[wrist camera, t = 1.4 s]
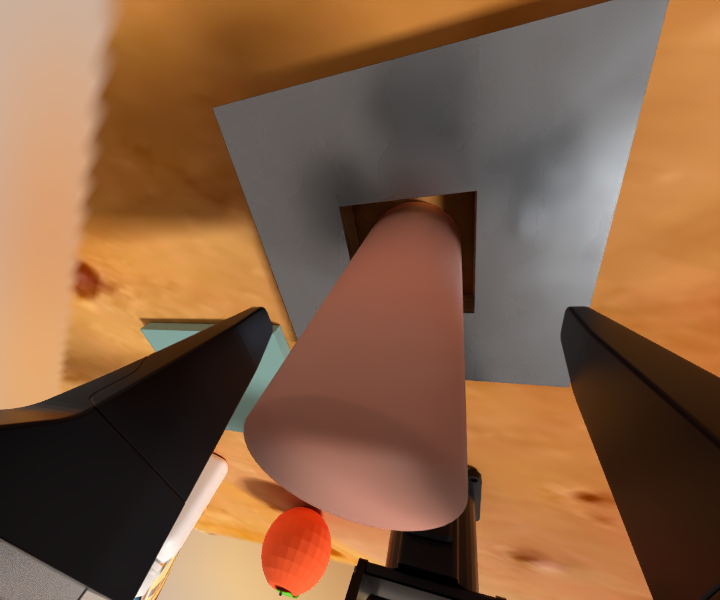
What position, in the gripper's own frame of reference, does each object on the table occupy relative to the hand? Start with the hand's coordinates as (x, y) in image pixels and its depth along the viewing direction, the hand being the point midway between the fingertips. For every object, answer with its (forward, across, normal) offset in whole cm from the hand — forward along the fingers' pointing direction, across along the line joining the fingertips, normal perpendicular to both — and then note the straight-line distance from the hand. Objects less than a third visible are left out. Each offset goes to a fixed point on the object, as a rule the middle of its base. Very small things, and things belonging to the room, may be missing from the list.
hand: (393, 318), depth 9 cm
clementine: (+6, +14, +31) cm, 34 cm away
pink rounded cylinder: (+5, 0, 0) cm, 5 cm away
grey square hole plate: (+5, 0, 0) cm, 5 cm away
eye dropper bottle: (+6, +24, +24) cm, 34 cm away
